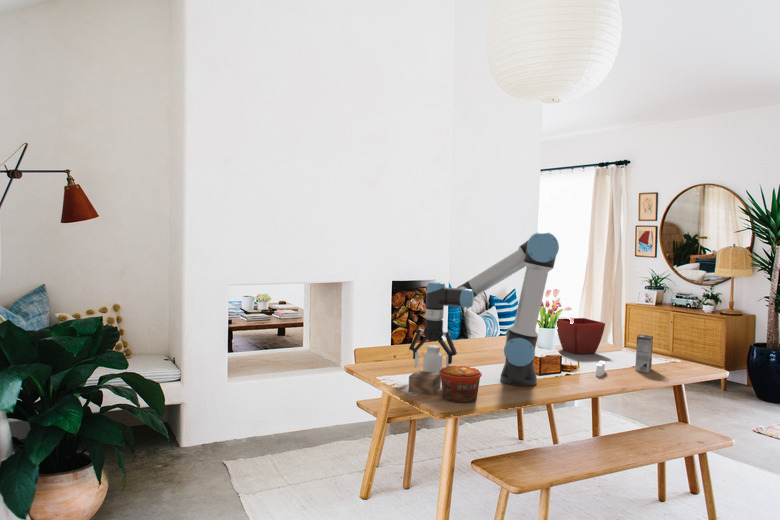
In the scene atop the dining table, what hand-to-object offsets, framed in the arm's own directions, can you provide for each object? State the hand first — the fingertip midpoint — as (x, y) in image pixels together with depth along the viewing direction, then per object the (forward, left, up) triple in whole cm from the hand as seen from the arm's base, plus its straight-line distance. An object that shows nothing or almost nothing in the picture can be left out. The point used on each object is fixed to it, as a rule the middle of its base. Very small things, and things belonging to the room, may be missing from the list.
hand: (431, 369), depth 234 cm
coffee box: (-84, -68, -6) cm, 109 cm away
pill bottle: (0, 0, -6) cm, 6 cm away
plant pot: (-53, -97, -6) cm, 111 cm away
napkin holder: (-65, -50, -6) cm, 82 cm away
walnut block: (-1, +13, -5) cm, 14 cm away
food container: (-17, +17, -6) cm, 24 cm away
